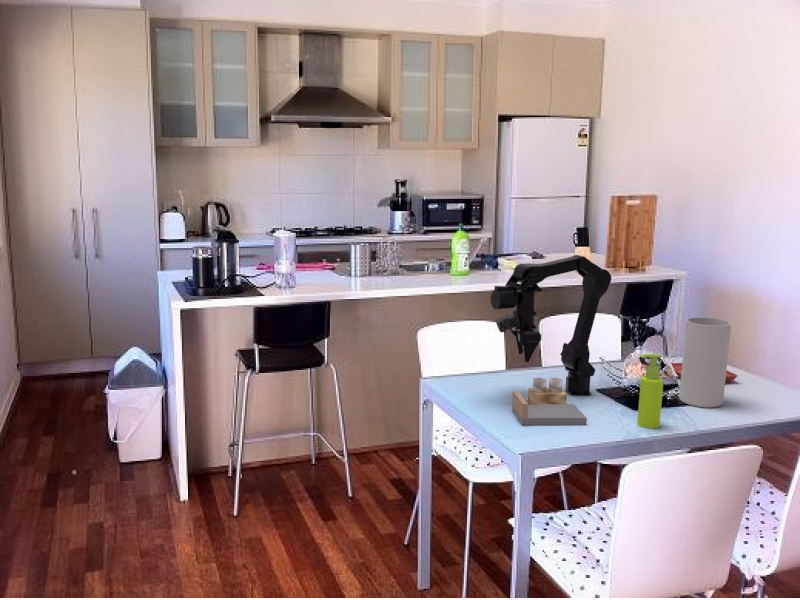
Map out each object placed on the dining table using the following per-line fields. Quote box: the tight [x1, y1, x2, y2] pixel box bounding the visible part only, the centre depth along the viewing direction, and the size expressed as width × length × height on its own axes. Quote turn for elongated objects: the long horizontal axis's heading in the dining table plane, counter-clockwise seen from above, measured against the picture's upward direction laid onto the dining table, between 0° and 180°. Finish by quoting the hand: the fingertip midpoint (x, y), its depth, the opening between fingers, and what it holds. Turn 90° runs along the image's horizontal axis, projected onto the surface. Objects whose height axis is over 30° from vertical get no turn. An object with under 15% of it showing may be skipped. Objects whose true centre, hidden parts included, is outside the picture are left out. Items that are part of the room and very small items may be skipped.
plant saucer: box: [670, 362, 738, 384], centre depth 263 cm, size 18×18×3 cm
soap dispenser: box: [637, 353, 664, 429], centre depth 212 cm, size 6×7×20 cm
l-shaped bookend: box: [511, 390, 588, 426], centre depth 217 cm, size 18×12×6 cm, turn 95°
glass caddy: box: [527, 377, 568, 404], centre depth 230 cm, size 10×6×8 cm, turn 95°
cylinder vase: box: [678, 316, 732, 409], centre depth 233 cm, size 12×12×25 cm
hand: (523, 357), depth 233 cm, fingers open, 9 cm apart
